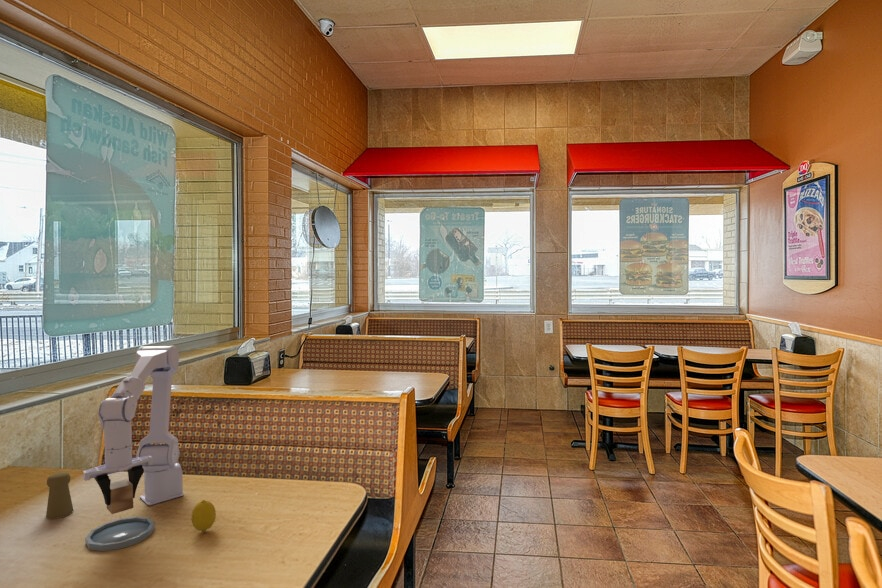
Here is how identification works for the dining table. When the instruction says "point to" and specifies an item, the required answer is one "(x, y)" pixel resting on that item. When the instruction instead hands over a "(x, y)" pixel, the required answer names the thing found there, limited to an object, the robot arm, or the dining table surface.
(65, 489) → the cork
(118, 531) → the plate
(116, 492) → the block
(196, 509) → the lemon
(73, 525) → the dining table surface
